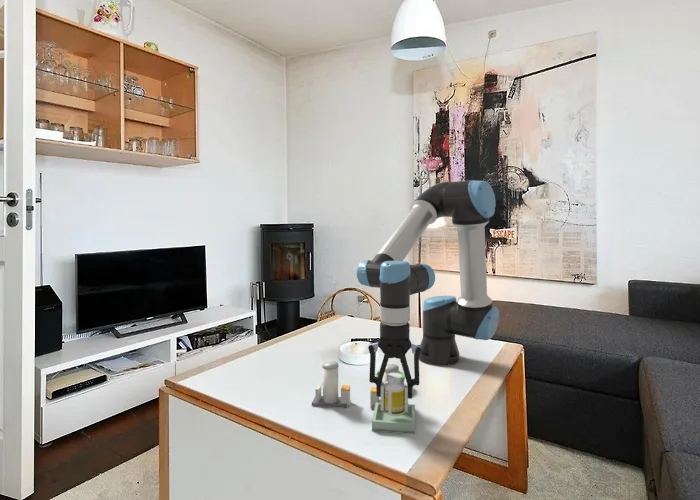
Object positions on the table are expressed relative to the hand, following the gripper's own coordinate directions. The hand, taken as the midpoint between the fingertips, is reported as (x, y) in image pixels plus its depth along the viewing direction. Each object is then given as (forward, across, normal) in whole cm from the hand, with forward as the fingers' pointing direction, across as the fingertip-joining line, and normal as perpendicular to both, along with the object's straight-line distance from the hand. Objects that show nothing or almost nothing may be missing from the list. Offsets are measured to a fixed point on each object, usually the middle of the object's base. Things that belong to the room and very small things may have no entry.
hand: (394, 408), depth 111 cm
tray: (+4, 0, 0) cm, 4 cm away
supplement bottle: (+1, 0, 0) cm, 1 cm away
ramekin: (+4, +2, -21) cm, 22 cm away
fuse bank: (+4, +10, -8) cm, 13 cm away
